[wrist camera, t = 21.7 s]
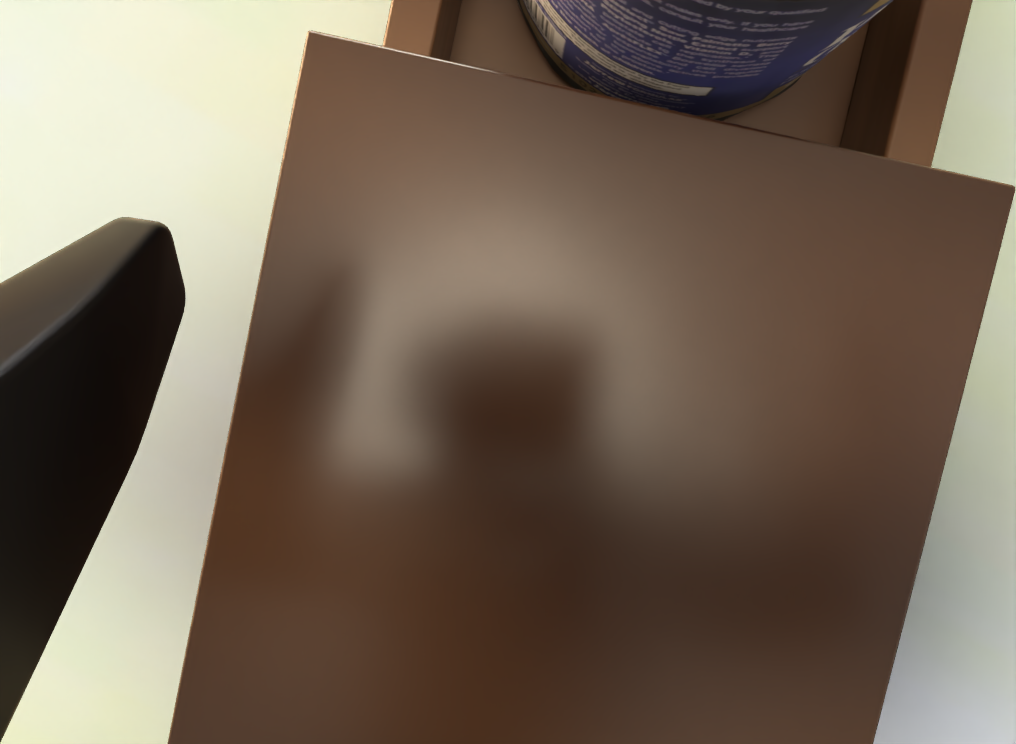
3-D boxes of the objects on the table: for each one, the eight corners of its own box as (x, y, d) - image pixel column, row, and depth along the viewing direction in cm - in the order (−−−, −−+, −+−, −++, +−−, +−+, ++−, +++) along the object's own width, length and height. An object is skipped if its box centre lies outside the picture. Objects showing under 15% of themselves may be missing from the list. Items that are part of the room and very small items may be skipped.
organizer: (361, 100, 19) (306, 29, 14) (886, 216, 19) (1018, 185, 14) (253, 637, 20) (165, 750, 15) (756, 745, 20) (835, 893, 15)
